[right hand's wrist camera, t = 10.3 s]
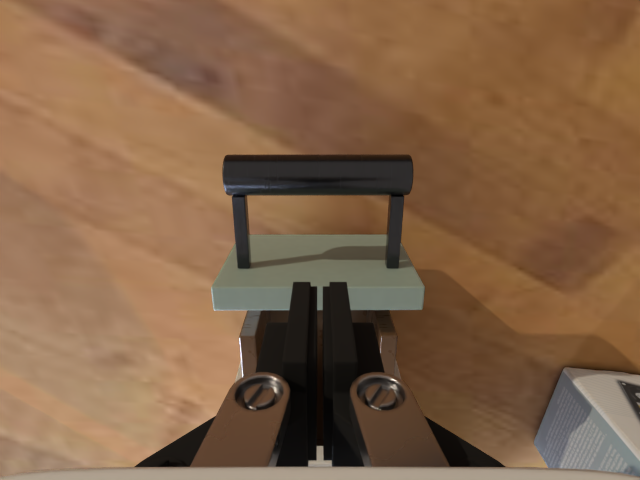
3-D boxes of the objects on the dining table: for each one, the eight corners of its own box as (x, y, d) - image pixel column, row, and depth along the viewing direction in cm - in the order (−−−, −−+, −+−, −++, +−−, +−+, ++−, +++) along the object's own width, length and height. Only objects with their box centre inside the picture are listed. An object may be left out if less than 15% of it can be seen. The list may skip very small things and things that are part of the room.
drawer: (232, 142, 22) (197, 163, 16) (403, 141, 22) (438, 163, 16) (254, 433, 30) (236, 529, 23) (382, 433, 30) (400, 528, 23)
